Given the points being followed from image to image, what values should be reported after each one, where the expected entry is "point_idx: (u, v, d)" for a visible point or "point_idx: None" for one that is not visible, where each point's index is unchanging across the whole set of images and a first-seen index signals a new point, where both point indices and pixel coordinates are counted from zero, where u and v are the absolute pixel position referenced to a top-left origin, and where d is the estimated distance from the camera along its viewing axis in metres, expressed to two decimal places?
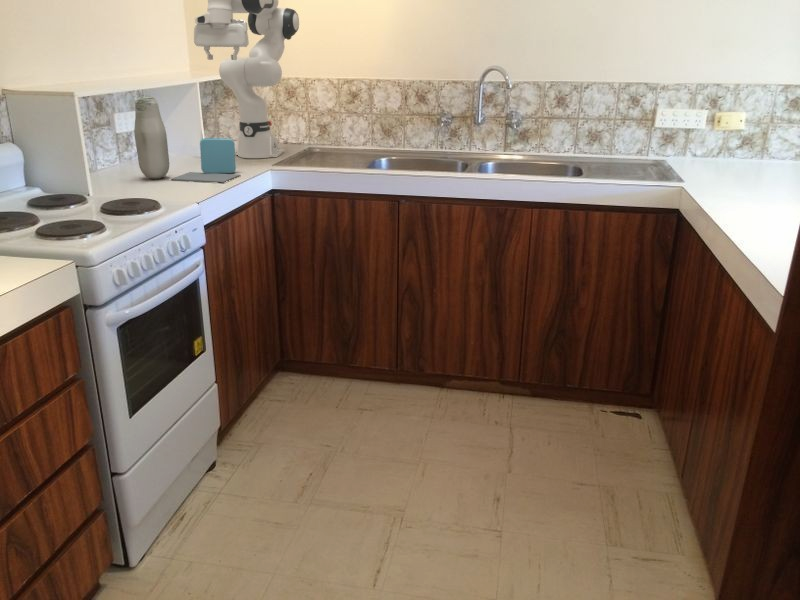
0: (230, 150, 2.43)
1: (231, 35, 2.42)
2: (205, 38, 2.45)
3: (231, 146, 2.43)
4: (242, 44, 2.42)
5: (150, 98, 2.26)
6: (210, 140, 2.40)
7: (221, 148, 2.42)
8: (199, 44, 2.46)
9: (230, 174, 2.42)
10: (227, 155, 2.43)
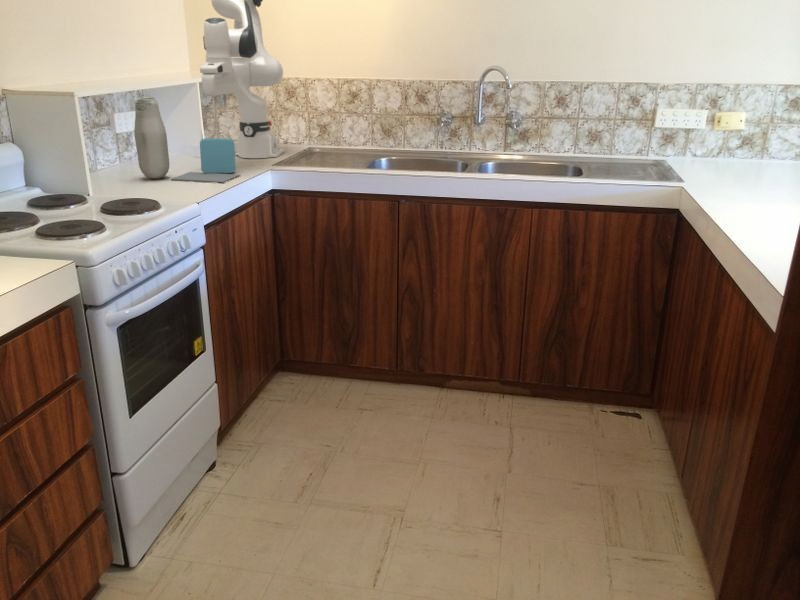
0: (230, 150, 2.43)
1: (231, 82, 2.46)
2: (218, 88, 2.37)
3: (231, 146, 2.43)
4: (237, 90, 2.51)
5: (150, 98, 2.26)
6: (210, 140, 2.40)
7: (221, 148, 2.42)
8: (215, 94, 2.36)
9: (230, 174, 2.42)
10: (226, 155, 2.43)
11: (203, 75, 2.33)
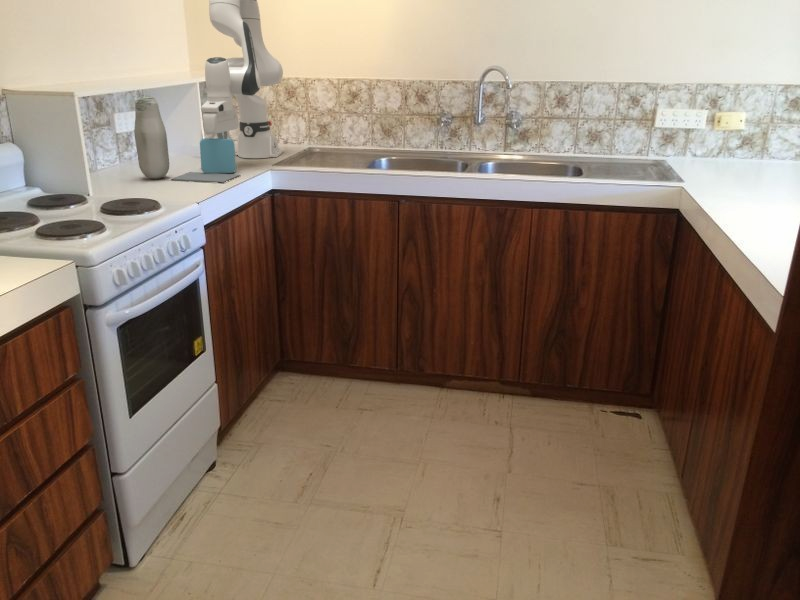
0: (230, 150, 2.43)
1: (232, 119, 2.49)
2: (219, 126, 2.40)
3: (231, 146, 2.43)
4: None
5: (150, 98, 2.26)
6: (210, 140, 2.40)
7: (221, 148, 2.42)
8: (216, 132, 2.39)
9: (230, 174, 2.42)
10: (226, 155, 2.43)
11: (204, 114, 2.36)
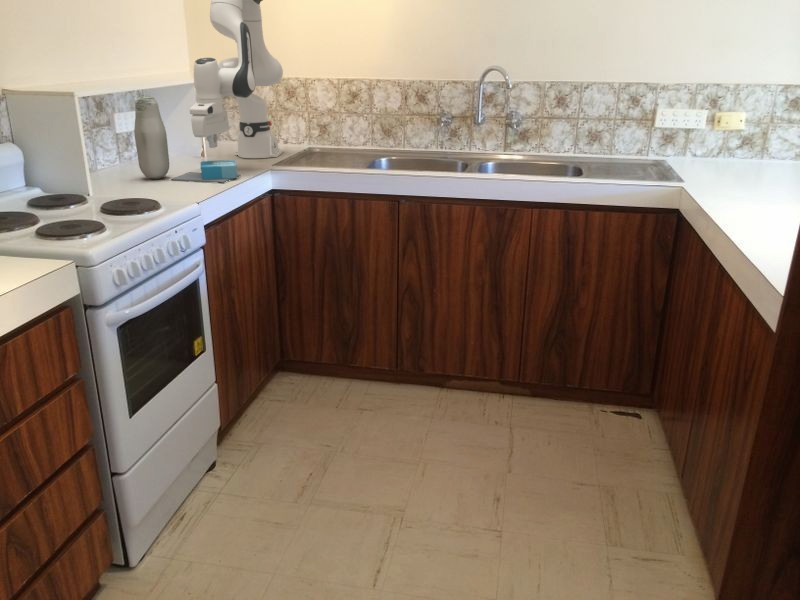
0: None
1: (222, 121, 2.42)
2: (209, 128, 2.33)
3: None
4: (228, 129, 2.47)
5: (150, 98, 2.26)
6: None
7: None
8: (205, 135, 2.31)
9: None
10: None
11: (193, 116, 2.29)
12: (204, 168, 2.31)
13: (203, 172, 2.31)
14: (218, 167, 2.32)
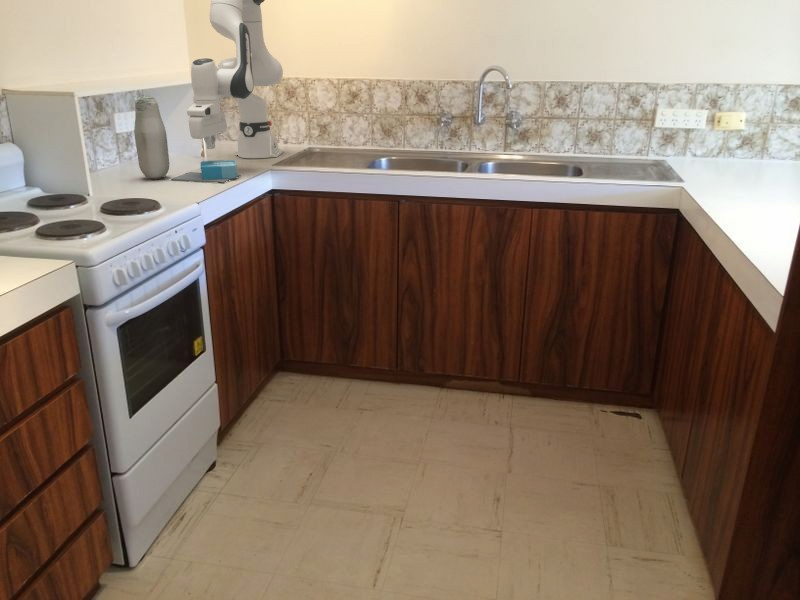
0: None
1: (220, 122, 2.40)
2: (206, 130, 2.31)
3: None
4: None
5: (150, 98, 2.26)
6: None
7: None
8: (203, 136, 2.30)
9: None
10: None
11: (190, 118, 2.27)
12: (204, 168, 2.31)
13: (203, 172, 2.31)
14: (218, 167, 2.32)
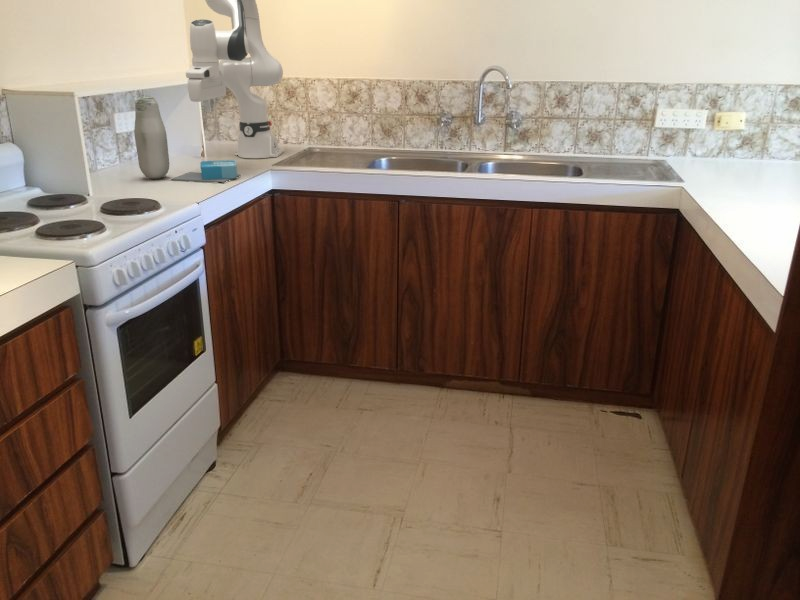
0: None
1: (219, 86, 2.37)
2: (205, 93, 2.29)
3: None
4: (225, 94, 2.42)
5: (150, 98, 2.26)
6: None
7: None
8: (202, 100, 2.27)
9: None
10: None
11: (189, 80, 2.24)
12: (204, 168, 2.31)
13: (203, 172, 2.31)
14: (218, 167, 2.32)
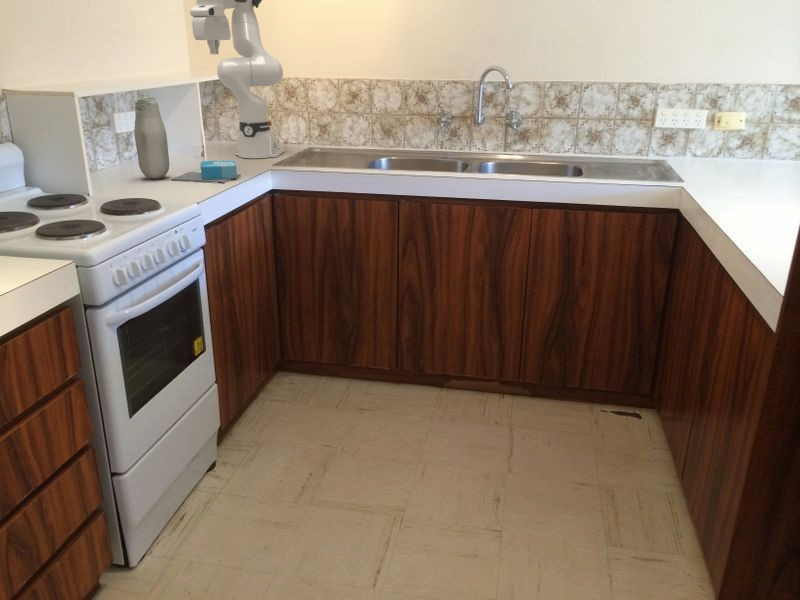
0: None
1: (223, 28, 2.35)
2: (210, 32, 2.26)
3: None
4: (229, 38, 2.40)
5: (150, 98, 2.26)
6: None
7: None
8: (206, 38, 2.25)
9: None
10: None
11: (193, 18, 2.22)
12: (204, 168, 2.31)
13: (203, 172, 2.31)
14: (218, 167, 2.32)
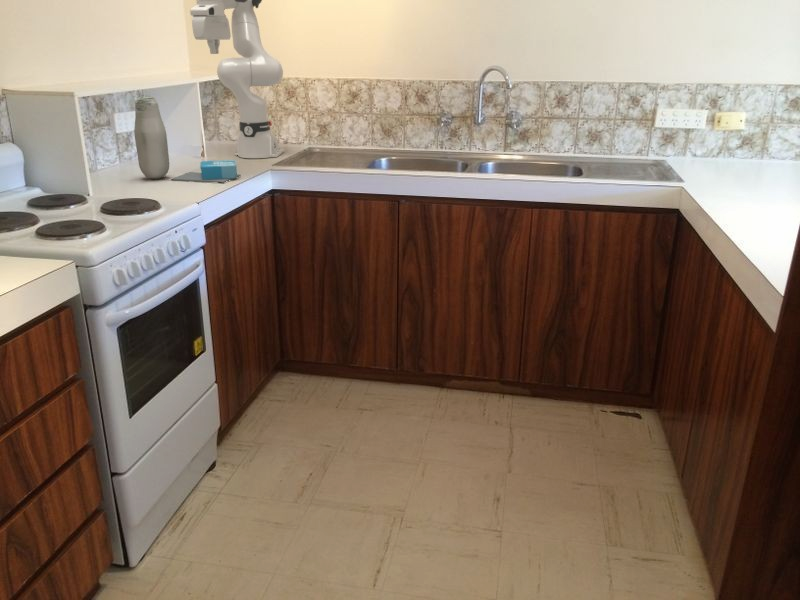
0: None
1: (223, 28, 2.35)
2: (210, 31, 2.26)
3: None
4: (229, 37, 2.40)
5: (150, 98, 2.26)
6: None
7: None
8: (206, 38, 2.25)
9: None
10: None
11: (193, 17, 2.22)
12: (204, 168, 2.31)
13: (203, 172, 2.31)
14: (218, 167, 2.32)
